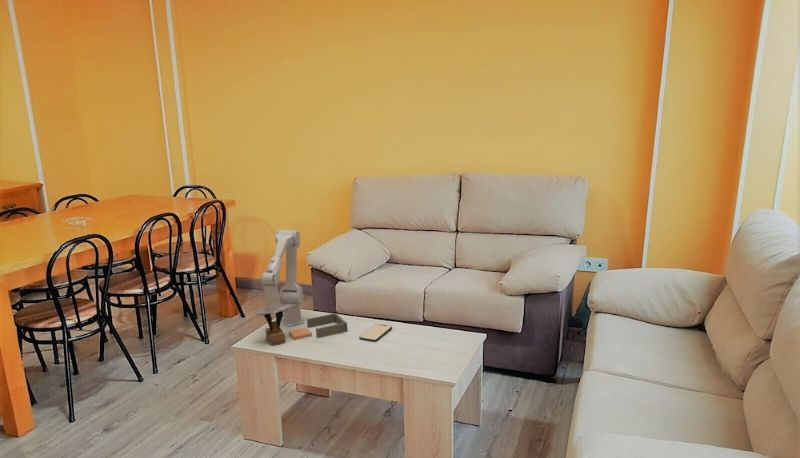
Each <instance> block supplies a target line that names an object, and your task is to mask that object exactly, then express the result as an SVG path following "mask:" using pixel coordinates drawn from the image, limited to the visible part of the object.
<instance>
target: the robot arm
mask: <svg viewBox="0 0 800 458" xmlns="http://www.w3.org/2000/svg"><path fill="white" fill-rule="evenodd" d="M274 240H275V243H276V245H275V248H274V249H275V250H274V253H273V257H270V259H269V261H268V264H267V266H266V269H265V272H263V273H262V274H261V276H260V284H261V286H262V287H261V288H262V290H263V291H264V292H263V293H264V300H265V303H264V304H265V308H263V309H261V310H256V311H255V316H256V318H259V317H262V316H263V317H264V318H265V320H266V322H267V324H268V328H270V330H271V331H273V328H272V322H273V318H272V314H274V315H275V321H276V322H277V323H278V329H280V328H281V323H282V322H283V324H285V325H286V327H292V326H298V325H303V324H304V323H305V322H304V320H303V319H302V311H301V304H302V303H303V301H304V292H303V287H302V286H301V285H299V284H298V283H297V271H298V270H297V261H298V260H297V259H298V258H297V256H298V255H297V253H298V248H299V247H300V246H301V235H300V231H299V230H298V229H277V230H276V232H275V234H274ZM284 254H285V284H284V285H283V286H281V287H280V290H279V288H278V287H279V286H278V285H279V283H280V281H281V280H280V277H281V273H280V272H281V270H282V266H283V261H282V259H283V257H284ZM280 304H282V305H280Z"/></svg>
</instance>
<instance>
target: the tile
mask: <svg viewBox="0 0 800 458" xmlns="http://www.w3.org/2000/svg"><path fill="white" fill-rule="evenodd" d="M288 335H289V336H290V338H292V340H293V341H298V340H302V339H306V337H307V338H310V337H313V334H312V332H311V331H310V329H309V328H308V327H306V326H305V327H300V328H295V329H291V330H290V329H289V330H288ZM297 339H298V340H297Z"/></svg>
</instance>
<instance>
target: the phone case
mask: <svg viewBox="0 0 800 458" xmlns="http://www.w3.org/2000/svg"><path fill="white" fill-rule="evenodd" d="M392 329H393V326H391V325H388V324H381V323H375V324H373V325H372V326H371V327H370V328H369V329H367V330H366V331H364V332H363V333H362V334H361V335H360V336H359V337H358V338H359V340H360V341H364V342H365V341H366V342H371V343H377V342H379V341H380V340H381V339H382V338H383V337H385V336H386V335H387V334H389V333H390V332H391V331H392Z"/></svg>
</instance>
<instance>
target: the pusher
mask: <svg viewBox="0 0 800 458" xmlns="http://www.w3.org/2000/svg"><path fill="white" fill-rule="evenodd" d="M272 328H273V331H271V330H270V327H268V328H264V329H265V338H266V339H267V341H268V343H269V344H270V345H271V346H275V345H276V346H277V345H281V344H284V343H286V333H285V332H284V331H283V329H282V328H281V327H280V329H278V323H277V322H276V320H275V321H272Z"/></svg>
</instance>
